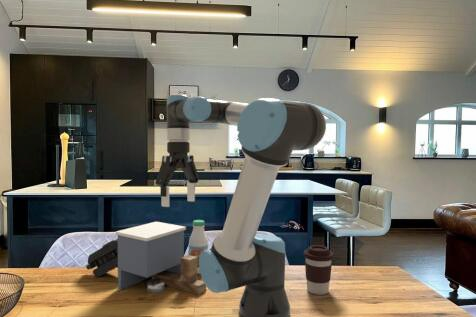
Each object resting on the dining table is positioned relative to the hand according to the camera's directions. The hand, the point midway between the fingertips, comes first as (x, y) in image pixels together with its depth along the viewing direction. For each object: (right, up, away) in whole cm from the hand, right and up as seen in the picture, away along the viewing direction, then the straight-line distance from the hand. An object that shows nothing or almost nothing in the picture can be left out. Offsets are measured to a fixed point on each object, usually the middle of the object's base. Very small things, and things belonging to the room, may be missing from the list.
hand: (178, 203), depth 121 cm
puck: (-8, -30, +1) cm, 31 cm away
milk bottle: (+4, -29, +19) cm, 35 cm away
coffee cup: (+48, -30, +2) cm, 57 cm away
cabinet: (-10, -29, +5) cm, 32 cm away
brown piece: (-1, -30, +5) cm, 30 cm away
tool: (-28, -29, +13) cm, 42 cm away
